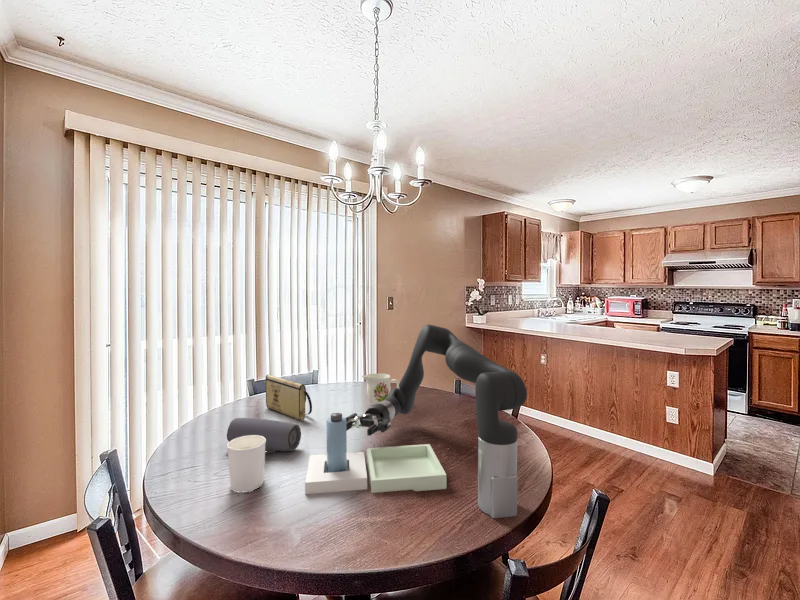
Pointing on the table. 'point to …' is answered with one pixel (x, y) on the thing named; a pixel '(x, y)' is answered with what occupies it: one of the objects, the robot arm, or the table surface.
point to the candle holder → (246, 462)
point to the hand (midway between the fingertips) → (356, 430)
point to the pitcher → (378, 387)
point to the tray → (405, 469)
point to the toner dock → (336, 475)
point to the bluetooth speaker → (267, 432)
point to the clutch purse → (286, 397)
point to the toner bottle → (336, 443)
